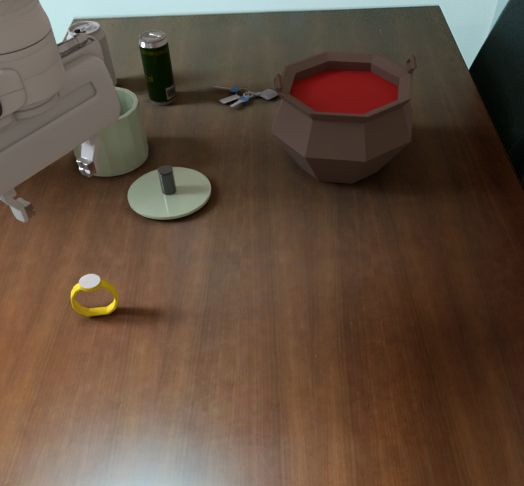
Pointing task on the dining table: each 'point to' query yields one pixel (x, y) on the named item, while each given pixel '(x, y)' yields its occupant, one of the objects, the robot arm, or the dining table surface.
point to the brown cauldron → (344, 113)
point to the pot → (122, 139)
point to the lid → (169, 193)
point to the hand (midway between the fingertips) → (59, 194)
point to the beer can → (157, 67)
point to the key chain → (265, 94)
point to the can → (99, 35)
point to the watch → (90, 285)
